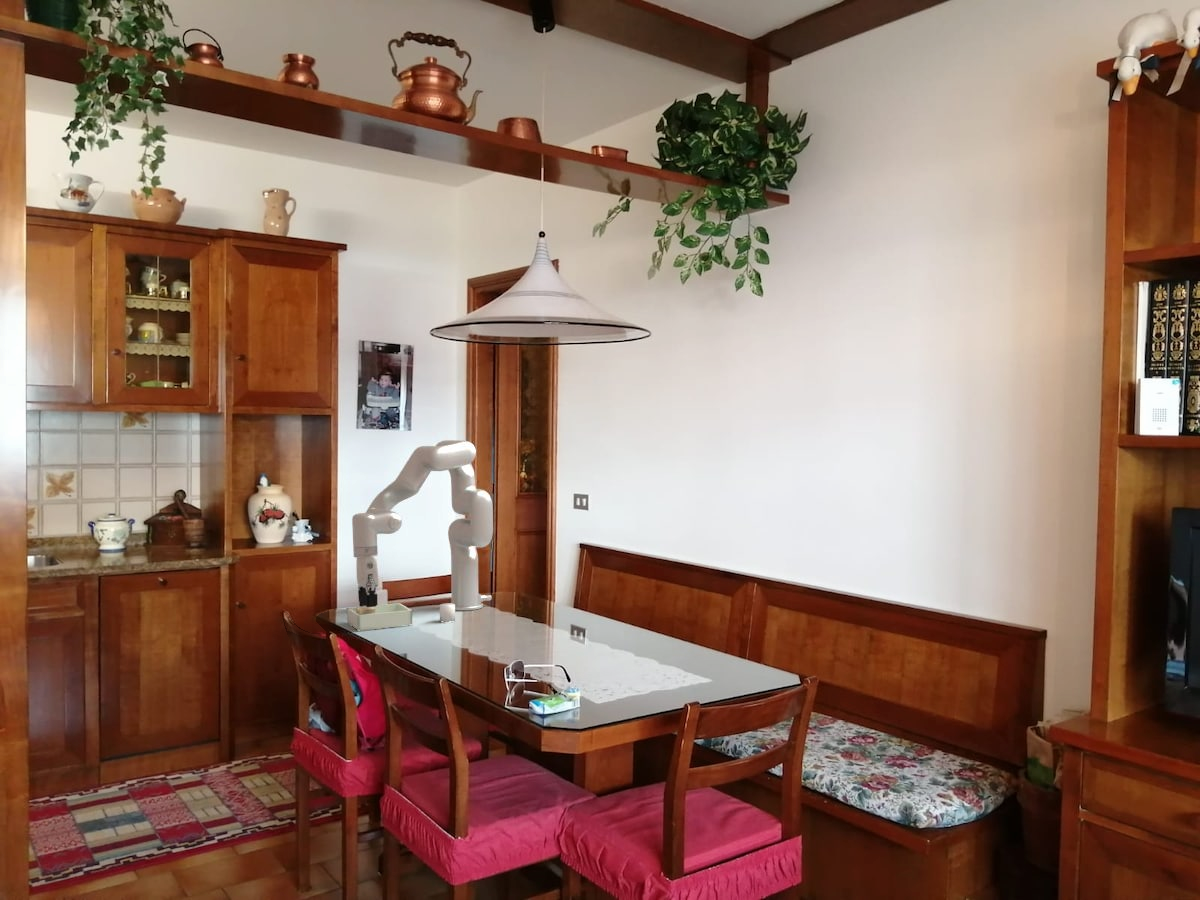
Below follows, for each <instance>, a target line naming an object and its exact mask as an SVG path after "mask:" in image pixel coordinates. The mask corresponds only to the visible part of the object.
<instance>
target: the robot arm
mask: <svg viewBox="0 0 1200 900" xmlns="http://www.w3.org/2000/svg"><path fill="white" fill-rule="evenodd" d="M476 454H477V451H476V447H475V445H474V444H473V443H472V442H470V441H468V440H454V439H453V440H452V439H451V440H450V439H449V440H448V439H446V440H441V441H439V442H438V443H437V444H436V445H422V446H418V447H416V448H415V449H414V451H413V452H412V453H411V455H410V457H409V458H408V460H407V461H406V463H405V464H404V466H403V467H402V469H401V471H400V472H399V474H398V475H397V477H396V478H395V480H394V481H392V482H391V483H390V484H388V485H387V486H386V487H385V488H384V489H383V490H382V491H380V492H379V493H378V494H377V495H376V496H375V498H374V499H373V500H372V501H371V503H370V505H369V507H367V510H366V511H365V512H362V513H361V512H360V513H355V514H354V515H353V516H352V519H351V522H352V523H351V524H352V545H353V550H352V551H353V552H352V553H353V557H354V558H356V582H357V584H358V586H357V589H358V590H357V591H358V602H365V601H366V607H375V606H376V605H377V603H376V588H375V586H376V587H377V586H378V585H379V582H378V577H379V573H378V572H379V571H378V561H377V557H378V552H379V551H378V534H379V535H381V534H382V535H391V534H392V535H393V534H394V533H396V532H398V531H399V530H400V528H401V527H402V525H403V520H402V518H401V516H400V515H399V514H398V513H397V512H396V511H392V509H393V508H394V507H395V506H397V505H398V504H399V503H400V502H403V501H404V500H405V501H406V500H408V499H410V498H412V497H413V496H415V495H417V494H418V493H419V491H420V490H421V488H422V487H423V485H424V484H425V481H426V480H427V479H428V478H429V477H428V476H429V475H430V473H431V472H443V471H448V472H449V475H450V486H451V487H450V488H451V491H450V492H451V508H452V510H453V512H454V513H456V514H457V515H462V516H469V518H466V517H465V518H464V517H463V518H458V519H455V520H453V521H452V522H451V523H450V525H449V526H448V529H447V531H448V532H447V536H448V537H447V538H448V541H449V547H450V561H451V562H450V563H451V564H450V568H451V569H450V570H451V574H450V575H451V578H450V579H451V582H450V583H451V590H450V591H451V603H453V604H455V611H474V610H479V609H483V607H484V604H483V603H484V601H485V602H486V601H492V598H493V597H492V595H491V594H487V595H485V594H481V593H479V554H478V550H477V548H485V547H488V545H489V544H490V543H491V542H492V540H493V534H494V508H493V506H494V505H493V500H492V498H491V496H490V494H489V493H488V492H487V491H486V490H485V489H481V488H477V486H476V475H475V470H474V467H473V465H472V463H473V462H474V460H475V458H476V457H477V455H476ZM368 588H369V590H368Z"/></svg>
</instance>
